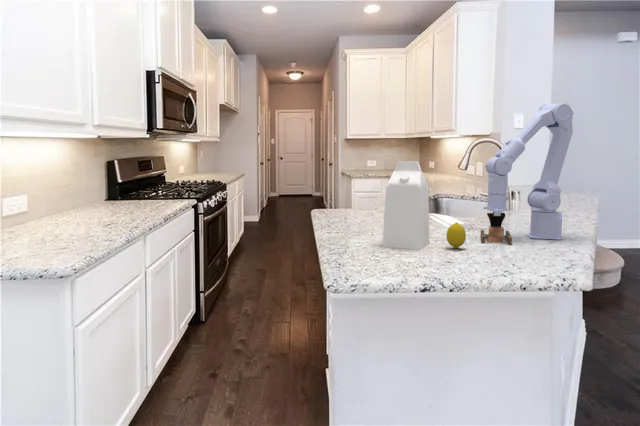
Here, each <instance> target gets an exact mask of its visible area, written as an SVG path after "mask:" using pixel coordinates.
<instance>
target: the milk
mask: <svg viewBox="0 0 640 426" xmlns="http://www.w3.org/2000/svg"><path fill="white" fill-rule="evenodd" d="M429 202H430V201H429V184H428V182H427V179H426V177H425V174H424V172H423V171H422V168H421V166H420V162H419V161H413V160H412V161H411V160H410V161H409V160H408V161H407V160H406V161H404V160H403V161H397V163H396V165H395V168H394V170H393V172H392V174H391V175H390V177H389V179H388V182H387V185H386V188H385V199H384V213H383V214H384V216H383V228H382V246H381V247H382V248H390V249H391V248H392V249H393V248H394V249H402V250H403V249H406V250H415V251H421V249H422V250H423V249H424V248H425V247H426V246H428V245H429V244H430V213H429V212H430V208H429V206H430V205H429ZM427 244H428V245H427Z"/></svg>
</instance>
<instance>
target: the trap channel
mask: <svg viewBox="0 0 640 426" xmlns="http://www.w3.org/2000/svg"><path fill="white" fill-rule="evenodd" d="M512 237H513V236H512V235H511V233H510V231H509V230H505V233H504V239H506V242H507V244H508V245H509V246H510V245H511V246H512V245H513V238H512ZM486 239H488V233H485V229H480V241H481V242H480V243H481V244H485V242H486Z"/></svg>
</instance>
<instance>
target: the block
mask: <svg viewBox="0 0 640 426" xmlns="http://www.w3.org/2000/svg"><path fill="white" fill-rule="evenodd" d="M487 232H488V233H487V234H488V238H487V242H488V243H494V244H495V243H496V244H498V243H499V244H504V243H505V242H504V241H505V238H504V235H505V227H504V226H501V227H494V226H491V225H490V226H488V231H487Z"/></svg>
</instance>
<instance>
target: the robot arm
mask: <svg viewBox="0 0 640 426" xmlns="http://www.w3.org/2000/svg"><path fill="white" fill-rule="evenodd" d="M574 114H575V112H574V110H573V109H572V107H571V105H570V104H569V103H568V102H565V101H561V102H557V103H551V104H543V105H541V106H540V107H539V108H538V110H536V111H535V112H534V114H533V117H532V118H531V119H530V120H529V121H528V123H527V124H526V125H525V126H524V127H523V129H522V130H521V131H520V132H519V134H518V135H517V136H516V138H515V137H513V138H510V139H507V140H506V141H504V145H503V147H502V148H501V149H500V150H499V151H497V152H496V153H495V156H493V157H490V158H489V159H488V160H487V162H486V164H485V167H484V168H485V170H486V172H487V174H488V175H487V177H488V183H487V184H488V185H487V186H488V187H487V206H486V205H485V206H483V209H484V210H487V211H489V212H487V213H486V215H487V217H488V219H489V224H490V226H494V227H502V224H503V223H504V219H506V213H505V212H504V211H507V190H508V188H507V187H508V174H509V173H510V172H512V168H513V164H514V163H515V161H516V160H517V159H518V158H519V157H520V156H521V155H522V154H523V153H524V152H525V150H526V144H527V143H528V142H529V141H530V140H531V139H532V138H533V137H534V136H535V135H536V134H537V133H538V132H539V131H540V130H541V129H542V128H545V127H546V128H547V129H548V130H549V131H550V133H551V134H552V137H551V140H550V144H549V148H548V151H547V154H546V158H545V161H544V165H543V168H542V171H541V174H540V179H539V181H538V182H536V183H535V184H534V185H533V186H532V187H533V188H532V190H531V191H530V192H529V193H528V195H527V198H526V199H527V204H528V206H529V207H530V210H531V212H530V225H529V226H530V227H529V228H530V229H529V232H527V235H528V237H529V239H538V240H539V239H540V240H541V239H543V240H559V241H560V240H562V229H563V228H562V227H563V214H562V213H563V212H562V211H557V210H558V209H559V208H560V206H561V203H562V202H561V193H562V190H561V188H560V186H559V185H558V183H559V180H560V177H561V173H562V169H563V167H564V163H565V159H566V156H567V154H568V153H567V152H568V149H569V146H570V142H571V139H572V136H573V131H574V129H573V128H574V127H573V118H574Z"/></svg>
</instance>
